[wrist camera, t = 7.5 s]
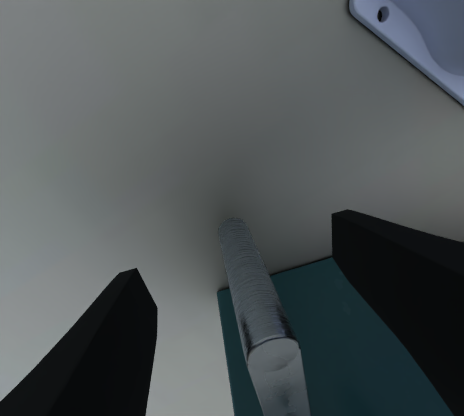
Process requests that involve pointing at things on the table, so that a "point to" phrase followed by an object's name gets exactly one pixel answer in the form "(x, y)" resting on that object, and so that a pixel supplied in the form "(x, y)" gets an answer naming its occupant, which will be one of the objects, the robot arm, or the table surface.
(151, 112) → the table surface
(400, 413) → the teal cabinet door
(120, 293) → the robot arm
